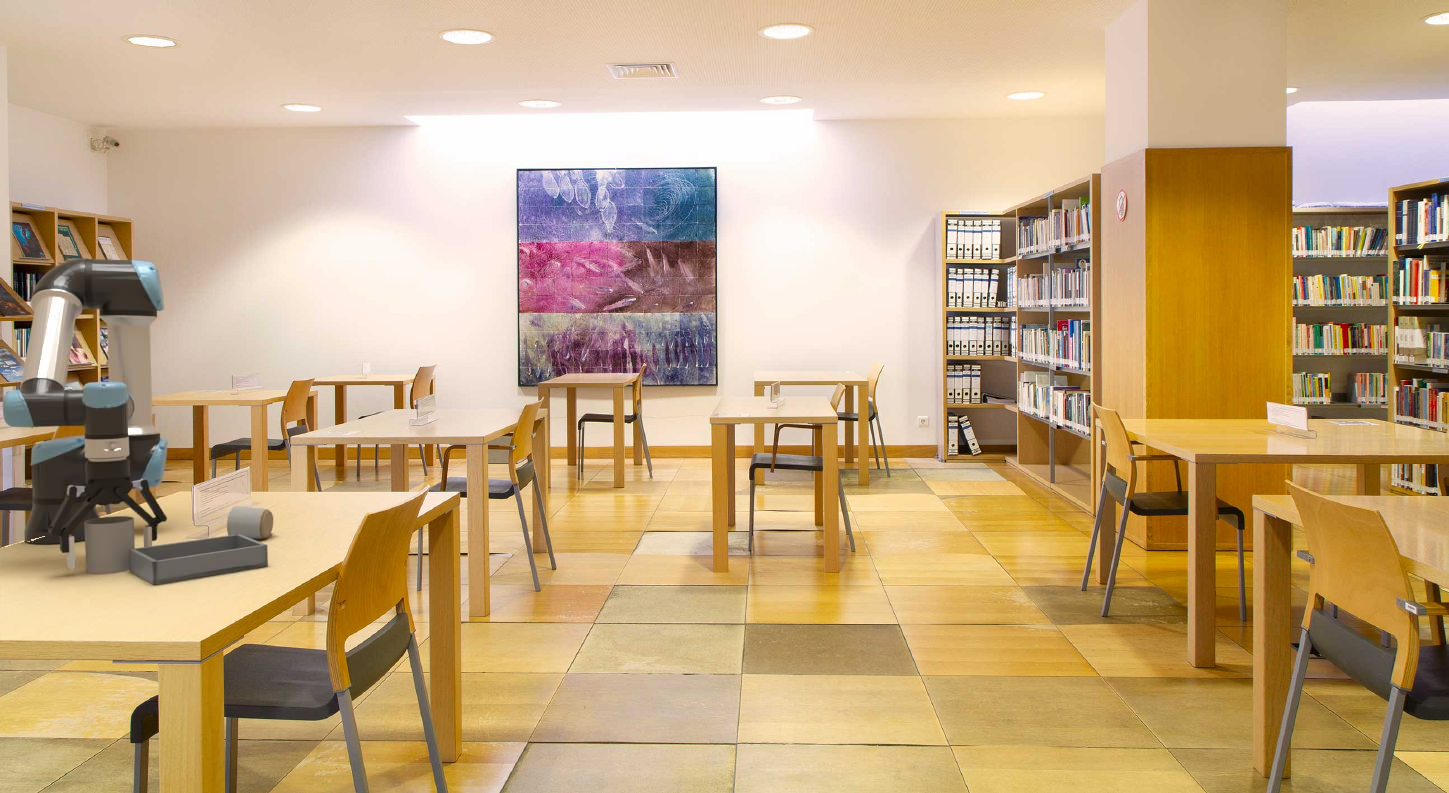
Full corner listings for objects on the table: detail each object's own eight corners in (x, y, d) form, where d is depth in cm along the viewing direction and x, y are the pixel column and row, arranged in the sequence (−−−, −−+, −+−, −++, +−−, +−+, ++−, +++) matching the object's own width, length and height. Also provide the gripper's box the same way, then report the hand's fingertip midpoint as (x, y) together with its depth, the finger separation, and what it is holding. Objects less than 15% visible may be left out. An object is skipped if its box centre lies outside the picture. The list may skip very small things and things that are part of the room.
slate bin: (129, 571, 190) (129, 549, 190) (239, 554, 206) (239, 533, 205) (154, 585, 180) (153, 562, 180) (267, 566, 195) (267, 544, 195)
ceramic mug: (263, 542, 218) (263, 509, 217) (226, 542, 217) (225, 509, 217) (280, 533, 228) (280, 501, 228) (244, 533, 227) (244, 501, 227)
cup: (83, 575, 187) (81, 525, 186) (88, 566, 194) (87, 518, 193) (133, 571, 190) (131, 522, 190) (137, 562, 198) (135, 514, 197)
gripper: (37, 466, 179) (41, 576, 180) (181, 455, 197) (184, 555, 199) (27, 462, 184) (31, 569, 185) (169, 451, 202) (172, 549, 204)
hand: (110, 562), depth 192 cm, fingers open, 13 cm apart
